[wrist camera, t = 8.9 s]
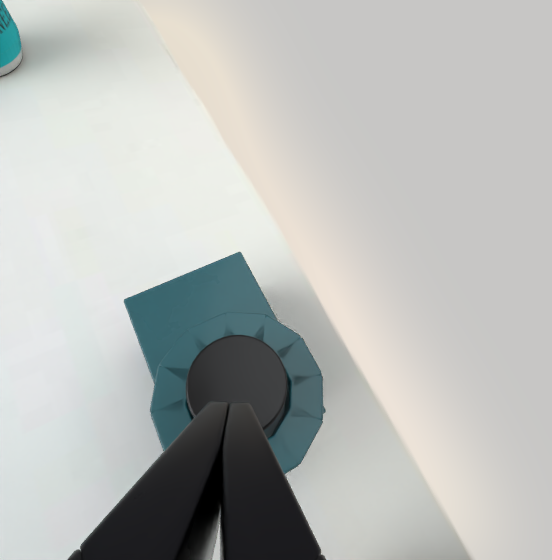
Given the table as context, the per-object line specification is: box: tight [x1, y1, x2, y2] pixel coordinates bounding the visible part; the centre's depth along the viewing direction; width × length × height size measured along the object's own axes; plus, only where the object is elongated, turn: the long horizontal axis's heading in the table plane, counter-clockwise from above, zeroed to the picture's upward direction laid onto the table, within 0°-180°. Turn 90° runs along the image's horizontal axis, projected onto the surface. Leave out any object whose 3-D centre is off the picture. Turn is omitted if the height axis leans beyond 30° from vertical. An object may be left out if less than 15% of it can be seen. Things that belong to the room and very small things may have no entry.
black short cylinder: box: [185, 335, 288, 431], centre depth 12 cm, size 3×3×3 cm
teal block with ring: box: [124, 252, 326, 474], centre depth 16 cm, size 9×6×7 cm, turn 27°
